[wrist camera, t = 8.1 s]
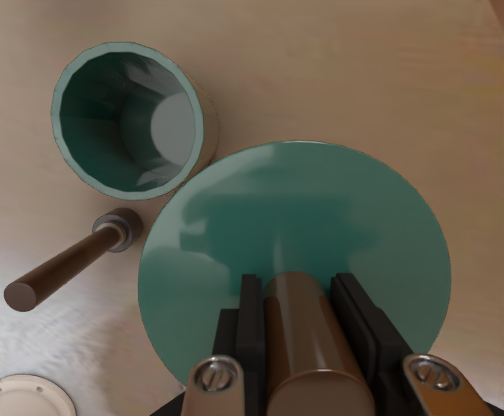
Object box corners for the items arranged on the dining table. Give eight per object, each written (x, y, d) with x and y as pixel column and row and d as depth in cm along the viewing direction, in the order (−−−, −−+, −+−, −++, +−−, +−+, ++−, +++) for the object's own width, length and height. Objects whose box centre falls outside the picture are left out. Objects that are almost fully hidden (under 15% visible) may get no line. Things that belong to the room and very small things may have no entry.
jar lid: (161, 401, 14) (93, 593, 8) (132, 142, 11) (-3, 149, 5) (416, 400, 14) (534, 593, 8) (453, 137, 11) (680, 138, 5)
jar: (121, 181, 34) (64, 200, 23) (109, 73, 31) (38, 42, 21) (221, 180, 34) (207, 199, 23) (217, 72, 31) (199, 40, 21)
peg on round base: (108, 243, 35) (-6, 327, 20) (103, 207, 34) (-21, 266, 19) (144, 243, 35) (58, 326, 20) (141, 207, 34) (47, 266, 19)
